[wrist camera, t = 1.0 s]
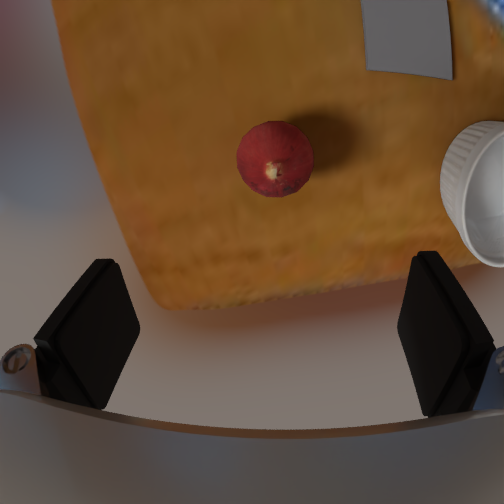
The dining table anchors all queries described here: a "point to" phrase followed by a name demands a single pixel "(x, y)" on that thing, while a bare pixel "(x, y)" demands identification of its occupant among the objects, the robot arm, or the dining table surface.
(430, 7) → the coaster
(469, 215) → the ramekin
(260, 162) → the onion
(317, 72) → the dining table surface
